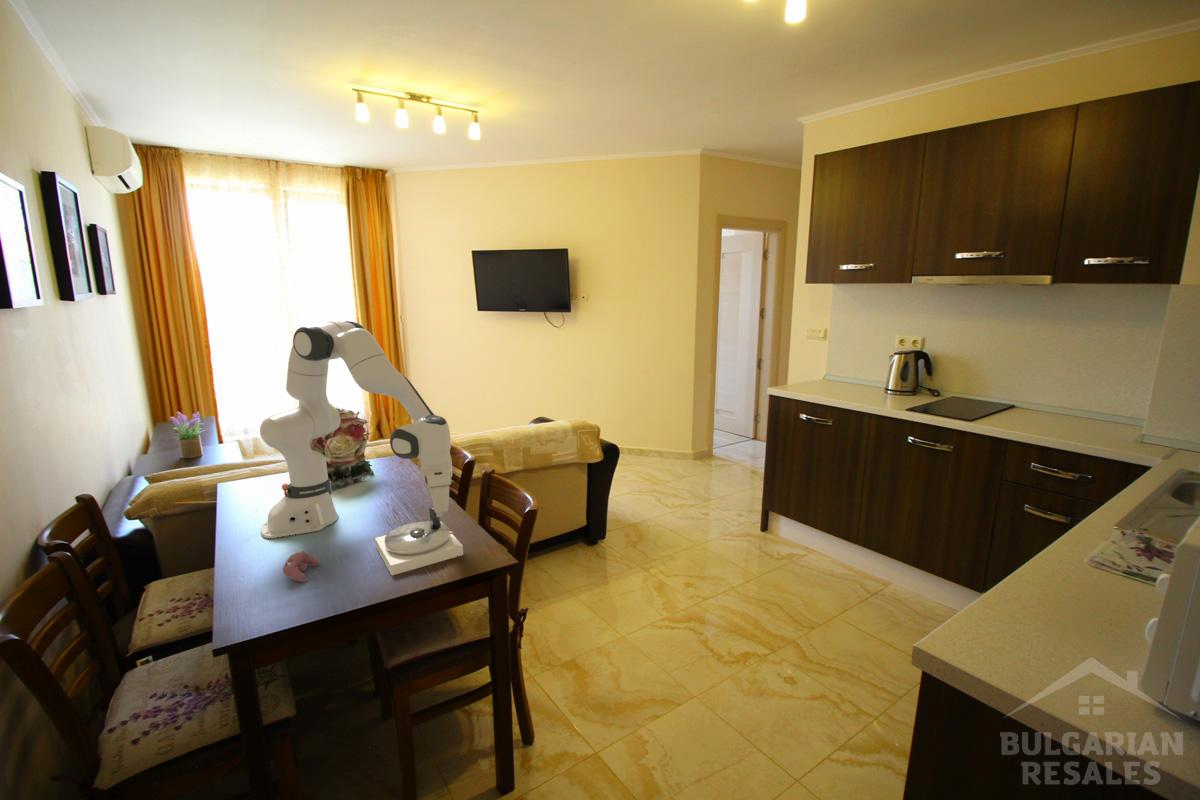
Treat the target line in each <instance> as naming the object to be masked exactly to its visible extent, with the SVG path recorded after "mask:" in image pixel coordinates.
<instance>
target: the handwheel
mask: <svg viewBox="0 0 1200 800" xmlns="http://www.w3.org/2000/svg"><path fill="white" fill-rule="evenodd" d="M428 512H429V520H428V521H418V522H412V523H411V522H410V523H407V524H403V525H401V526H398V527H396V528H394V529H392V530H391V531H389V532H388V533H387V534H385V535H386V537H385V548H386V550H387V551H388V552H390V553H392V554H396V555H418V554H423V553H427V552H431V551H433V550H436V549H438V548H440V547H442V546H443V545H444V544H446V543H447V542H448V540H449V537H450V535H449V531H450V528H449V526H448V525H446V524H445V523H443V522H442V521H441V517H437V516H436V513H435V511H434V507H433V506H430V507H429V508H428ZM441 522H442V523H443V524H442V523H441Z"/></svg>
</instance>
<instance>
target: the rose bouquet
mask: <svg viewBox="0 0 1200 800" xmlns="http://www.w3.org/2000/svg"><path fill="white" fill-rule="evenodd" d="M335 408H336V409H337V410H338V412H339V414H340V418H341V421H340V425H339V427H338V429H336V430H335V431H333V432H331V433H329V434H328V435H326V436H323V437H319V438H316V439H312V440H309V444H310V447H311V449H312V450H313V451H317V452H319V453H321V454H323V455H324V457H325V458H326V464H327V473H328V477H329V479H330V482H331V490H332V492H334V491H338V490H341V489H344V488H347V487H350V486H352V485H355V484H360V483H366V482H367V480H368V479H371V478H373V477H375V473H374V470H372V468H371V467H373V465H372V464H370V463H371V461H370V460H366V458H367V456H366V454H365V451H366V448H367V444H368V442H367V439H365V437H366V436H369V435H370V434H372V433H371V432H367V430H366V429H367V428H366V427H364V426H365V425H366V424H367V423H369V421H368V420H367V419H364V418H360V417H358V416H359V415H360V411H357V413H355V412H354V411H353V410H348V409H344V408H339V407H338V406H337V407H335ZM365 433H366V434H365Z"/></svg>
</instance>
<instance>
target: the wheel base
mask: <svg viewBox="0 0 1200 800" xmlns="http://www.w3.org/2000/svg"><path fill="white" fill-rule="evenodd" d="M441 523H442V524H444V523H443V522H442V521H441ZM386 535H387V534H385V535H382V536H378V537H375V538H374V541H375V548H376V550H377V551H379V552H378V553H380V554H379V555H380V557H381V558H382V561H383V562H385V563H384V564H385V566H386V568H387V569H388V572H389V571H390V572H389V573H390V575H391V576H396V575H399V574H403V573H407V572H410V571H413V570H415V569H419V568H423V567H425V566H430V565H433V564H437V563H439V562H440V563H441V562H443V561H446V560H450V559H453V558H458V557H461V556H464V545H463V544H462V543H461V542H460V540H458V538H456V536H455V535H454V532H453V531H452V530H451V531H450V530H449V535H450V537H449V540H448V542H447V543H446V544H444V545H443V546H442V547H440V548H438V549H436V550H433V551H431V552H427V553H423V554H418V555H396V554H392V553H390V552H388V551H387V550H386V548H385V537H386ZM457 556H458V557H457Z"/></svg>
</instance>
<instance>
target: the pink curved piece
mask: <svg viewBox="0 0 1200 800" xmlns="http://www.w3.org/2000/svg"><path fill="white" fill-rule="evenodd" d="M307 566H311V567H319V566H320V561H319V560H318V558H316V557H315V556H314V555H311V554H309V553H307V552H306V551H303V550H301V551H298V552H295V553H293V554H291V555H290V556H289V557H288V558H287V560H286V561H285V563H284V565H283V566H282V572H283V574H284V575H285V576H286V577H289V578H290V579H292V580H294V581H296V582H298V583H305V582H306V581H307V576H306V575H305V574H304V572H305V571H306V570H307Z"/></svg>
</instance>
